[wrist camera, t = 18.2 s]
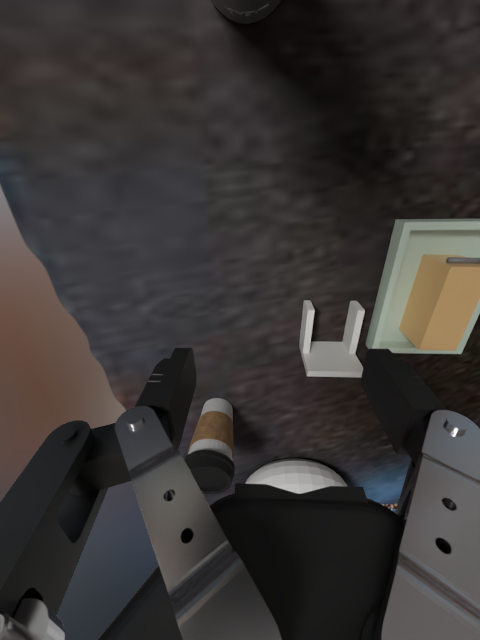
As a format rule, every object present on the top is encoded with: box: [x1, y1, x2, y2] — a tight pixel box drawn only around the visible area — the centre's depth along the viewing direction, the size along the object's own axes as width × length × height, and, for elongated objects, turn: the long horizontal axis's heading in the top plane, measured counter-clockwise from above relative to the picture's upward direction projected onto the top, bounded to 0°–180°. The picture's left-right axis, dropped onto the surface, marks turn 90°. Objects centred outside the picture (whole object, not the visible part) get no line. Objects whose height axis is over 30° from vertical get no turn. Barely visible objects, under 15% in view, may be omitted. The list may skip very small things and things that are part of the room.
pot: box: [245, 458, 348, 494], centre depth 57 cm, size 29×26×17 cm
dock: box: [299, 301, 365, 377], centre depth 40 cm, size 9×8×8 cm
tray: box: [366, 219, 480, 354], centre depth 39 cm, size 20×14×2 cm
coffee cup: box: [184, 398, 235, 494], centre depth 47 cm, size 8×8×15 cm
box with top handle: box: [399, 254, 480, 351], centre depth 37 cm, size 13×5×6 cm, turn 0°
